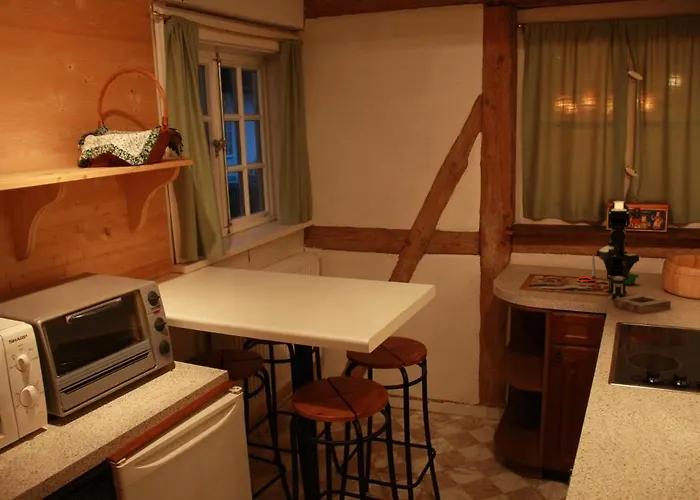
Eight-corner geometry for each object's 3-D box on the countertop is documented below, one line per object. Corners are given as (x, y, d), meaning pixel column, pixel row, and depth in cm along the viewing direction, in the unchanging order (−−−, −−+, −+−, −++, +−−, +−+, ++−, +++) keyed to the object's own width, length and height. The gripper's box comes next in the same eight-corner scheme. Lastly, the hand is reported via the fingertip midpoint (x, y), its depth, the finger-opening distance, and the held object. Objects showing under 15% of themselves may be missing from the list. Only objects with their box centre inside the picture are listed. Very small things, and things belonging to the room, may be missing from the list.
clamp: (632, 293, 313) (641, 277, 309) (621, 290, 312) (630, 275, 308) (622, 278, 323) (631, 263, 319) (611, 276, 322) (620, 261, 318)
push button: (608, 301, 284) (608, 278, 282) (607, 298, 289) (607, 275, 287) (625, 301, 282) (625, 278, 280) (623, 298, 287) (624, 275, 285)
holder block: (613, 305, 276) (614, 298, 275) (643, 300, 282) (643, 293, 281) (640, 313, 263) (640, 306, 263) (670, 308, 269) (670, 300, 269)
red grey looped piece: (576, 283, 320) (596, 283, 317) (575, 257, 318) (595, 256, 316) (575, 279, 328) (595, 279, 325) (574, 254, 326) (594, 253, 323)
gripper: (587, 238, 286) (586, 273, 289) (620, 244, 269) (618, 281, 272) (607, 235, 290) (606, 270, 293) (640, 241, 273) (639, 278, 276)
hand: (616, 275), depth 283 cm, fingers open, 9 cm apart
